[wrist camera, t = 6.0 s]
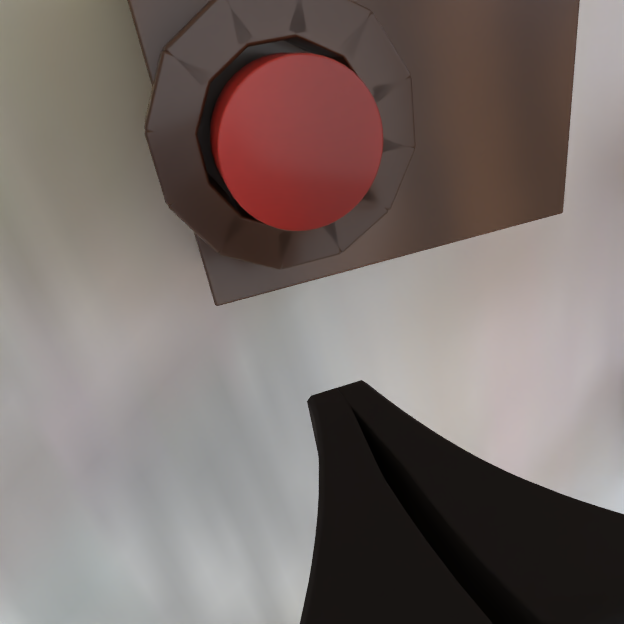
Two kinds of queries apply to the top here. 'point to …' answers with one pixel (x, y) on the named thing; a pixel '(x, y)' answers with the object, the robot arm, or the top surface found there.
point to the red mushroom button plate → (394, 115)
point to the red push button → (296, 139)
